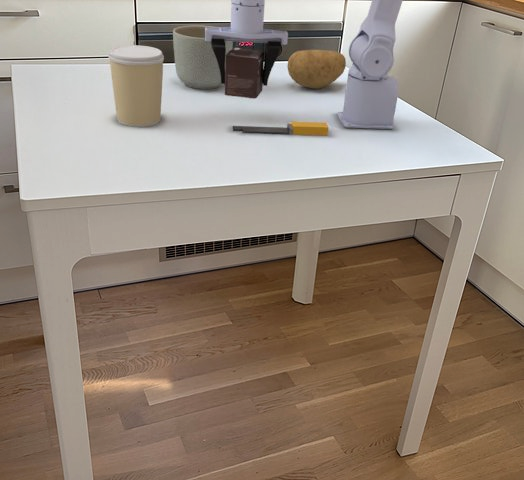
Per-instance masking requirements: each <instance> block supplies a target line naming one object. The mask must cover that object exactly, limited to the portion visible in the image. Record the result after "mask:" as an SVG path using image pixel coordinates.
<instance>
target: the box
mask: <svg viewBox="0 0 524 480" xmlns="http://www.w3.org/2000/svg"><path fill="white" fill-rule="evenodd" d="M264 55H265V50H258V49H249V48H241V47H233V48H232V50H230V51H229V52H228V53H227V54H226V63H225V84H224V95H225V96H228V97H236V98H246V99H253V100H254V99H257V98H258V97H259V96H260V95H261V93H262V92H263V83H262V76H263V69H264Z"/></svg>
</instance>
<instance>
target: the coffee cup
mask: <svg viewBox="0 0 524 480" xmlns="http://www.w3.org/2000/svg"><path fill="white" fill-rule="evenodd" d="M108 59H109V64H110V74H111V82H112V91H113V98H114V106H115V114H116V120H117V122H118V123H119V124H121V125H124V126H129V127H138V128H142V127H143V128H145V127H150V126H154V125H157V124H159V122H160V121H161V115H162V114H161V113H162V97H163V95H162V94H163V74H164V60H165V56H164V54H163V51H162V50H161V49H159V48H156V47H153V46H148V45H137V44H130V45H129V44H128V45H119V46H115V47H112V48H111V49H110V50H109V53H108Z"/></svg>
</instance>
